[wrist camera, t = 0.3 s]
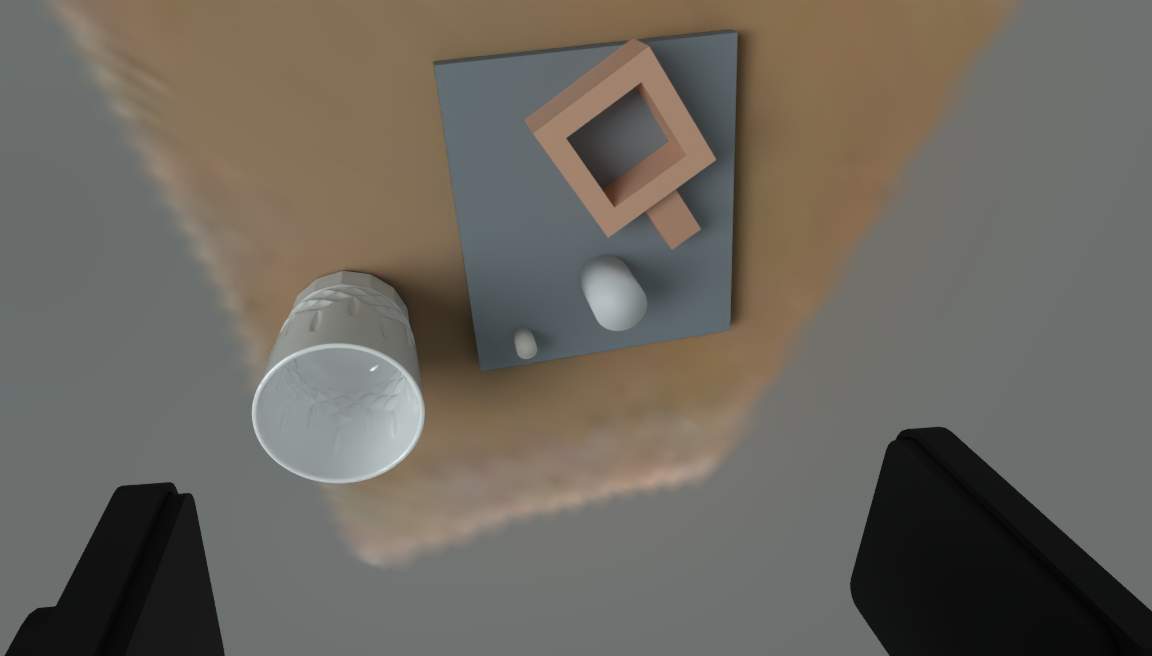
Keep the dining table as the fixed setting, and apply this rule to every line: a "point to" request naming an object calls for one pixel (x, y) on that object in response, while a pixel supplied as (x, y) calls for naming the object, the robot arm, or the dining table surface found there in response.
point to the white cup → (342, 382)
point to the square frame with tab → (653, 176)
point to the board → (560, 219)
